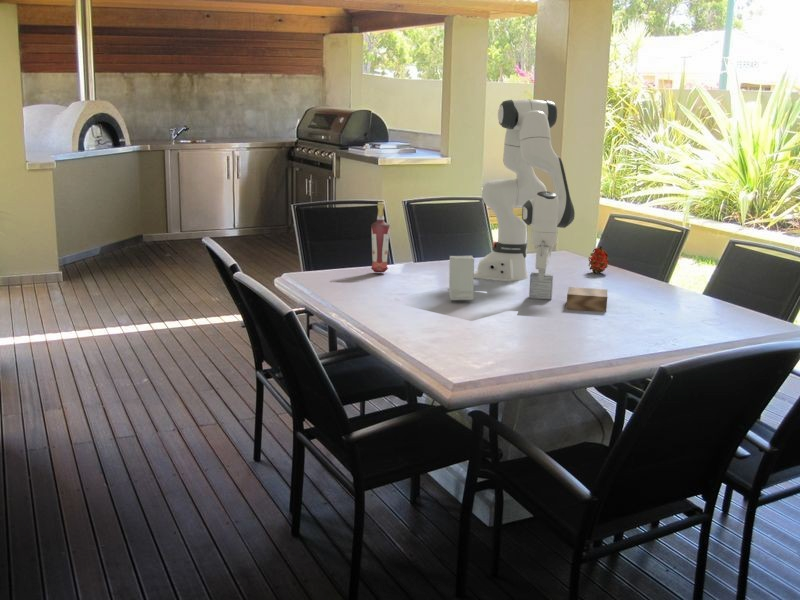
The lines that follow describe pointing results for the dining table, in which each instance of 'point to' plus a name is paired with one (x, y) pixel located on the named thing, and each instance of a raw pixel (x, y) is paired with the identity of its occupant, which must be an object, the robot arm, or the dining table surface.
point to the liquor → (380, 241)
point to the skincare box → (461, 278)
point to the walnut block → (587, 299)
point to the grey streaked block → (541, 286)
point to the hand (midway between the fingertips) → (541, 278)
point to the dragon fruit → (598, 260)
